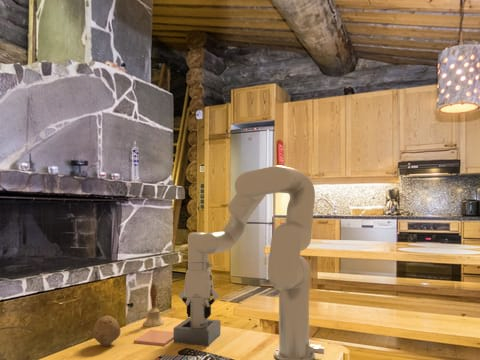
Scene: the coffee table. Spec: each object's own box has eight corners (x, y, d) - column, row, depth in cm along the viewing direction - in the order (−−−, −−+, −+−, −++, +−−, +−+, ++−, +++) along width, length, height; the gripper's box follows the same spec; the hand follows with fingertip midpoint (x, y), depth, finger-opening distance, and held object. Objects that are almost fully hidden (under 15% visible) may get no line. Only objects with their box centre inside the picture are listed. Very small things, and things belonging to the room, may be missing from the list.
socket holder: (220, 334, 144) (220, 320, 145) (208, 346, 132) (208, 331, 132) (188, 331, 148) (188, 317, 148) (173, 342, 135) (173, 328, 136)
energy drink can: (204, 338, 136) (203, 294, 137) (188, 337, 137) (187, 294, 139) (209, 333, 142) (209, 291, 143) (194, 332, 143) (193, 290, 144)
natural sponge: (85, 347, 131) (86, 317, 131) (105, 339, 139) (105, 311, 139) (105, 351, 127) (106, 320, 128) (124, 343, 135) (125, 314, 136)
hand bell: (159, 327, 153) (159, 286, 154) (139, 326, 154) (140, 285, 156) (167, 321, 161) (167, 282, 162) (148, 320, 163) (149, 281, 164)
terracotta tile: (179, 334, 144) (179, 332, 144) (165, 345, 132) (165, 343, 132) (150, 332, 147) (150, 329, 147) (133, 342, 135) (133, 340, 136)
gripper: (224, 265, 143) (224, 315, 141) (180, 264, 147) (181, 312, 146) (217, 268, 136) (218, 321, 134) (172, 267, 140) (172, 318, 139)
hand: (198, 316), depth 140 cm, fingers closed on energy drink can, 6 cm apart
